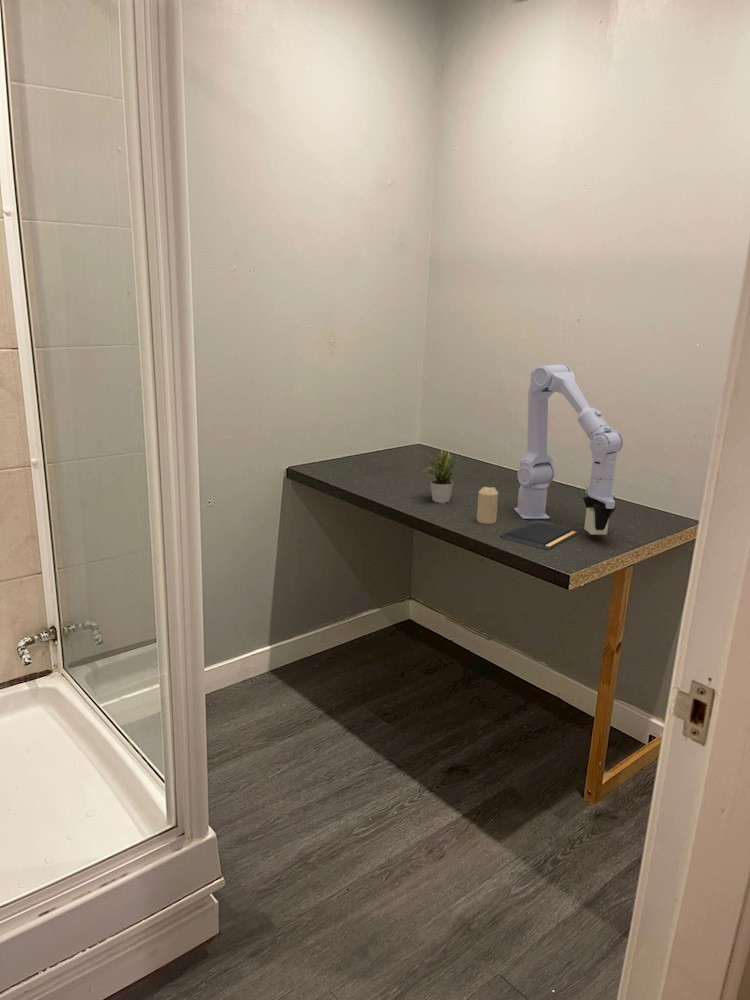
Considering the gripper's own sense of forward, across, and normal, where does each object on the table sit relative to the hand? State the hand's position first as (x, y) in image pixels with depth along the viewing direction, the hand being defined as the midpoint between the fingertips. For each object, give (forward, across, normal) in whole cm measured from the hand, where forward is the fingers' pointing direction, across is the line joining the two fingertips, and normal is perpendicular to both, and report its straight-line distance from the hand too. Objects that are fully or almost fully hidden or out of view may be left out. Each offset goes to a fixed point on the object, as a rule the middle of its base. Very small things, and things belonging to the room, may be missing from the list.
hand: (596, 526), depth 191 cm
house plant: (+4, +36, +36) cm, 51 cm away
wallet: (+4, +3, +14) cm, 15 cm away
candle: (+4, +15, +26) cm, 30 cm away
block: (+1, 0, 0) cm, 1 cm away
